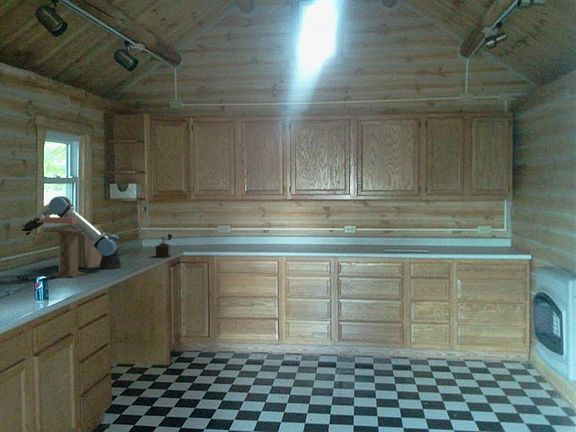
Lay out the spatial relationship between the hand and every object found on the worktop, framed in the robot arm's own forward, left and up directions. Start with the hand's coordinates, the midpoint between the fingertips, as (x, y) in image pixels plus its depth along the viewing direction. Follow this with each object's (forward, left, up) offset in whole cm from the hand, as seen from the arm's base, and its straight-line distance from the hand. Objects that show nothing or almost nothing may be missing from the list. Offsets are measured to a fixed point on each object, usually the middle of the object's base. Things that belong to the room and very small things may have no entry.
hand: (46, 216), depth 382 cm
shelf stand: (-14, +10, -39) cm, 42 cm away
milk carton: (-11, -13, -39) cm, 43 cm away
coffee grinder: (-82, -73, -39) cm, 117 cm away
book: (-25, -33, -39) cm, 57 cm away
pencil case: (-6, +4, -4) cm, 8 cm away
